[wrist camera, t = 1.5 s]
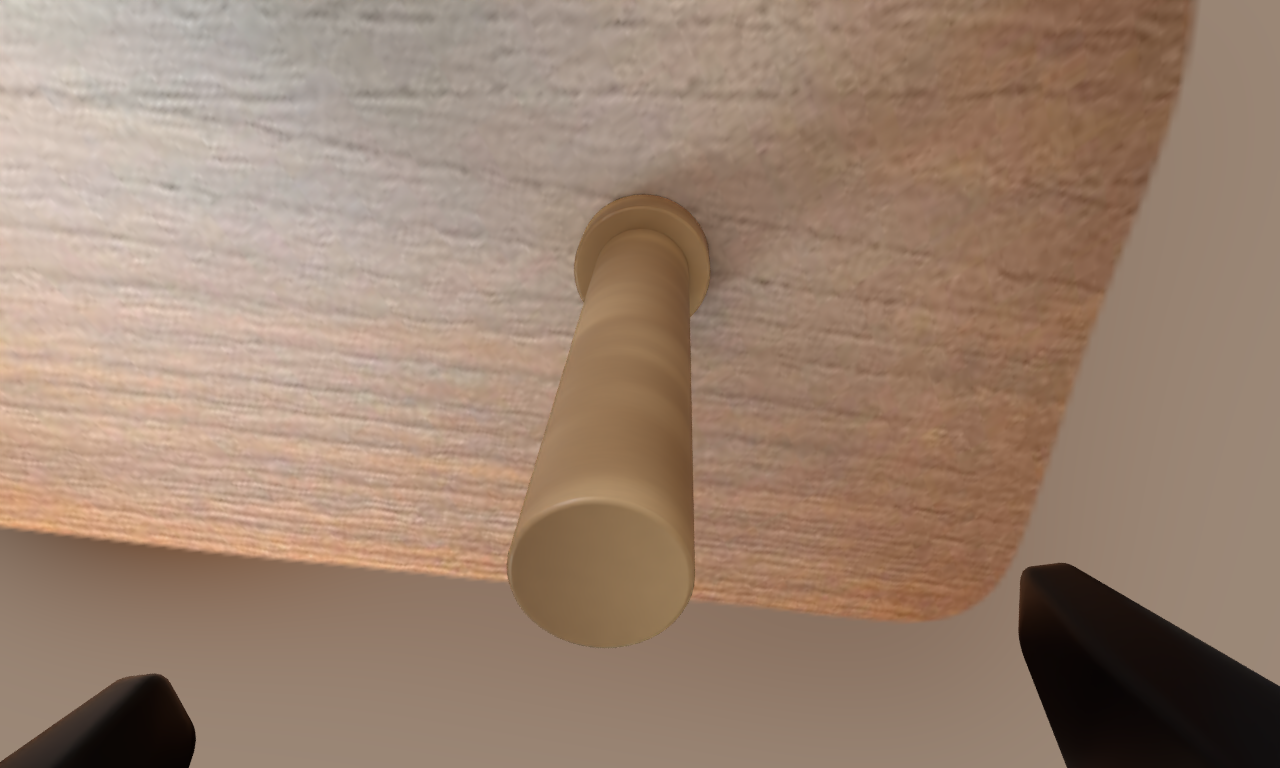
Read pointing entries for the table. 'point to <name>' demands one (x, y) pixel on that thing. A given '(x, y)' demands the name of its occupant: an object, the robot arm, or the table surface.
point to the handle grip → (619, 438)
